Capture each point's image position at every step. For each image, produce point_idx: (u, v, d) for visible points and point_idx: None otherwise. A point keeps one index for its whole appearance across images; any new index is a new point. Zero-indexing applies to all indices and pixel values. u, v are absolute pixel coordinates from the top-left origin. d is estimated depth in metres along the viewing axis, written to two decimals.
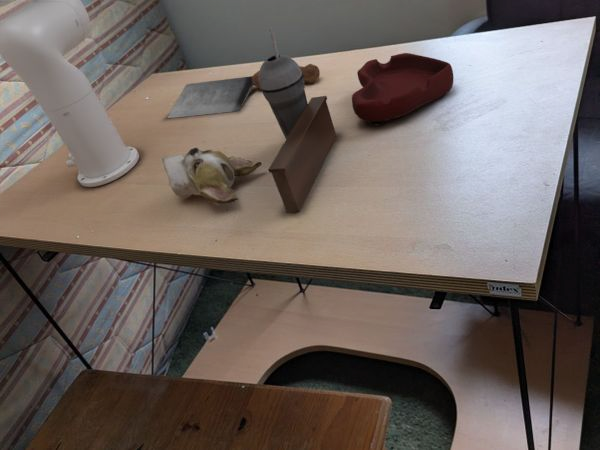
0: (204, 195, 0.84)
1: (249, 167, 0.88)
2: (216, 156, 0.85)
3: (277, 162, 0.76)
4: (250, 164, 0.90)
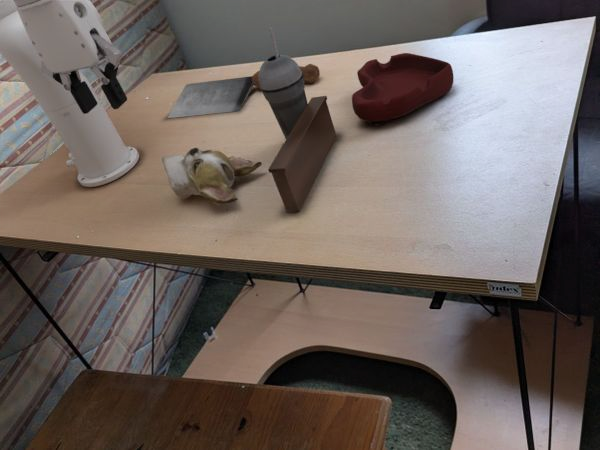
0: (204, 195, 0.84)
1: (249, 167, 0.88)
2: (216, 156, 0.85)
3: (277, 162, 0.76)
4: (250, 164, 0.90)
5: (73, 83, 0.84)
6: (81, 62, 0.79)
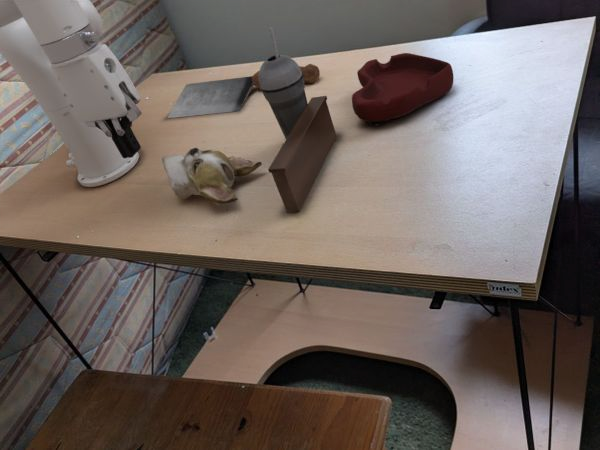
0: (204, 195, 0.84)
1: (249, 167, 0.88)
2: (216, 156, 0.85)
3: (277, 162, 0.76)
4: (250, 164, 0.90)
5: (114, 130, 0.87)
6: (110, 112, 0.83)
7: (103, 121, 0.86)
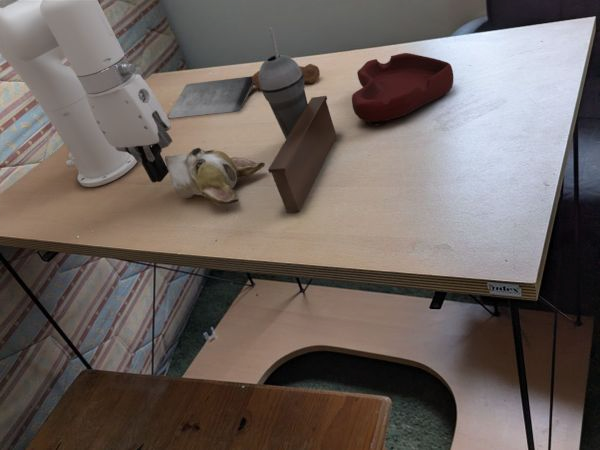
0: (206, 195, 0.84)
1: (251, 168, 0.88)
2: (218, 157, 0.85)
3: (277, 162, 0.76)
4: (253, 165, 0.90)
5: (144, 155, 0.89)
6: (143, 140, 0.85)
7: (134, 147, 0.88)
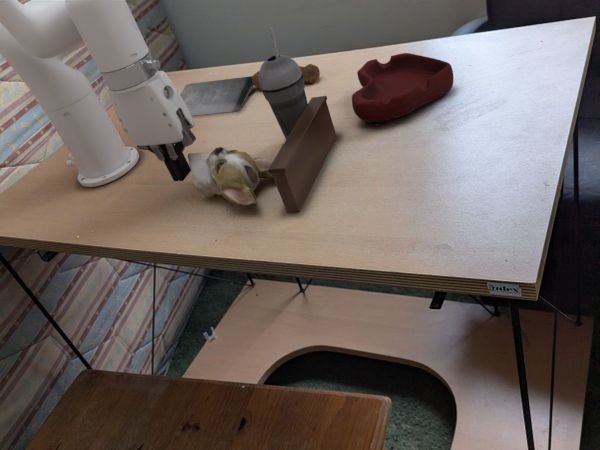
0: (225, 197, 0.82)
1: None
2: (240, 158, 0.83)
3: (277, 162, 0.76)
4: None
5: (166, 154, 0.88)
6: (166, 138, 0.83)
7: (156, 145, 0.86)
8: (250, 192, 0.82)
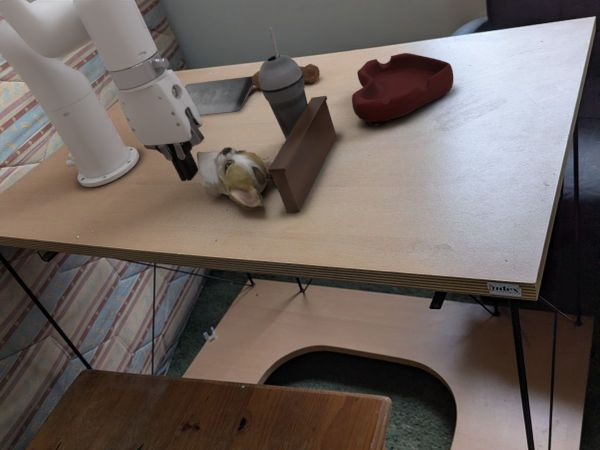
0: (231, 198, 0.81)
1: None
2: (248, 158, 0.82)
3: (277, 162, 0.76)
4: None
5: (174, 153, 0.87)
6: (174, 138, 0.82)
7: (164, 145, 0.85)
8: (257, 194, 0.81)
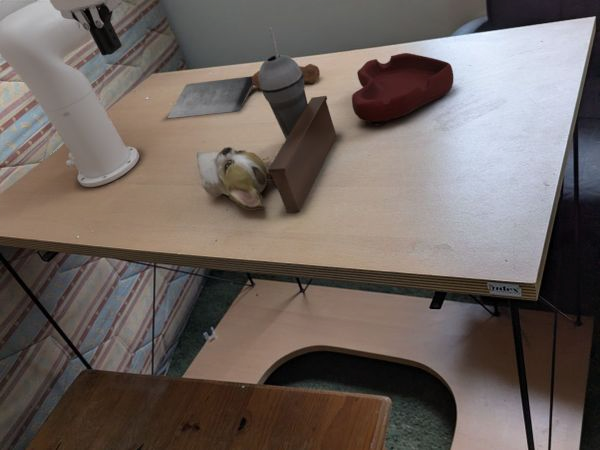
0: (231, 198, 0.81)
1: None
2: (248, 159, 0.82)
3: (277, 162, 0.76)
4: None
5: (92, 22, 0.81)
6: None
7: (80, 11, 0.80)
8: (257, 194, 0.81)
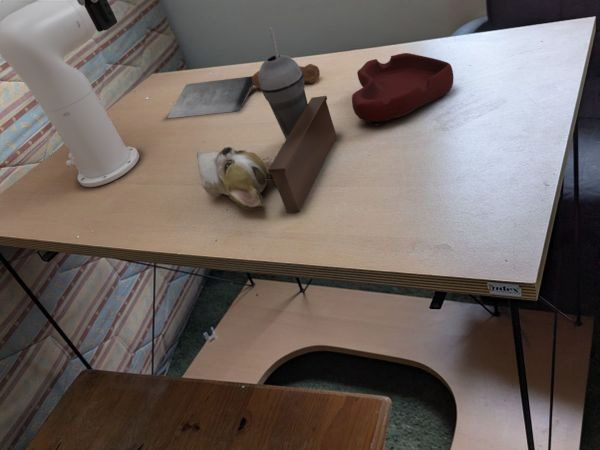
0: (231, 198, 0.81)
1: None
2: (248, 158, 0.82)
3: (277, 162, 0.76)
4: None
5: None
6: None
7: None
8: (257, 194, 0.81)
